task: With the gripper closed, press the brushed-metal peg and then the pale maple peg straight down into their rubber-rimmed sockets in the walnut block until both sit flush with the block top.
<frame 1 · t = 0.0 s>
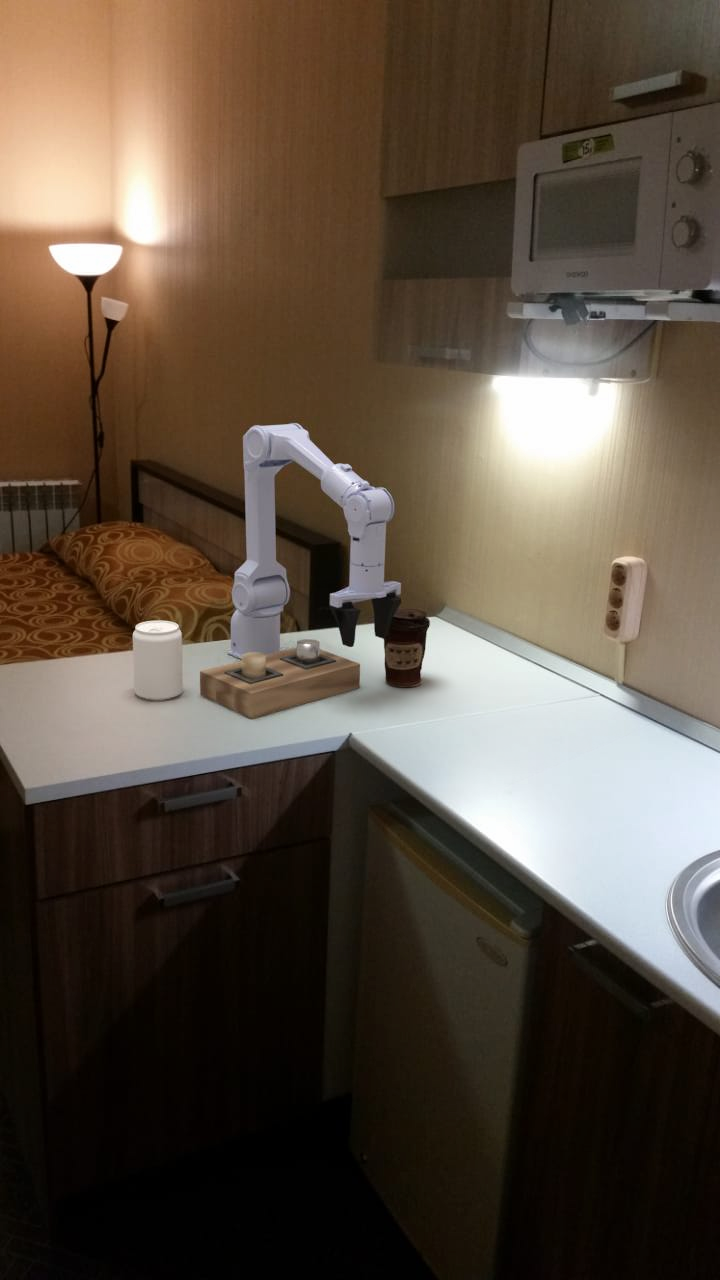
hand: (364, 641, 183), 10 cm above the worktop, fingers open, 7 cm apart
coffee cup: (403, 683, 194), on the worktop
beverage can: (158, 695, 185), on the worktop
socket block: (281, 691, 188), on the worktop
maple peg: (253, 668, 182), point 5 cm above the worktop, slide at 3.0 cm
metal peg: (308, 654, 190), point 5 cm above the worktop, slide at 3.0 cm
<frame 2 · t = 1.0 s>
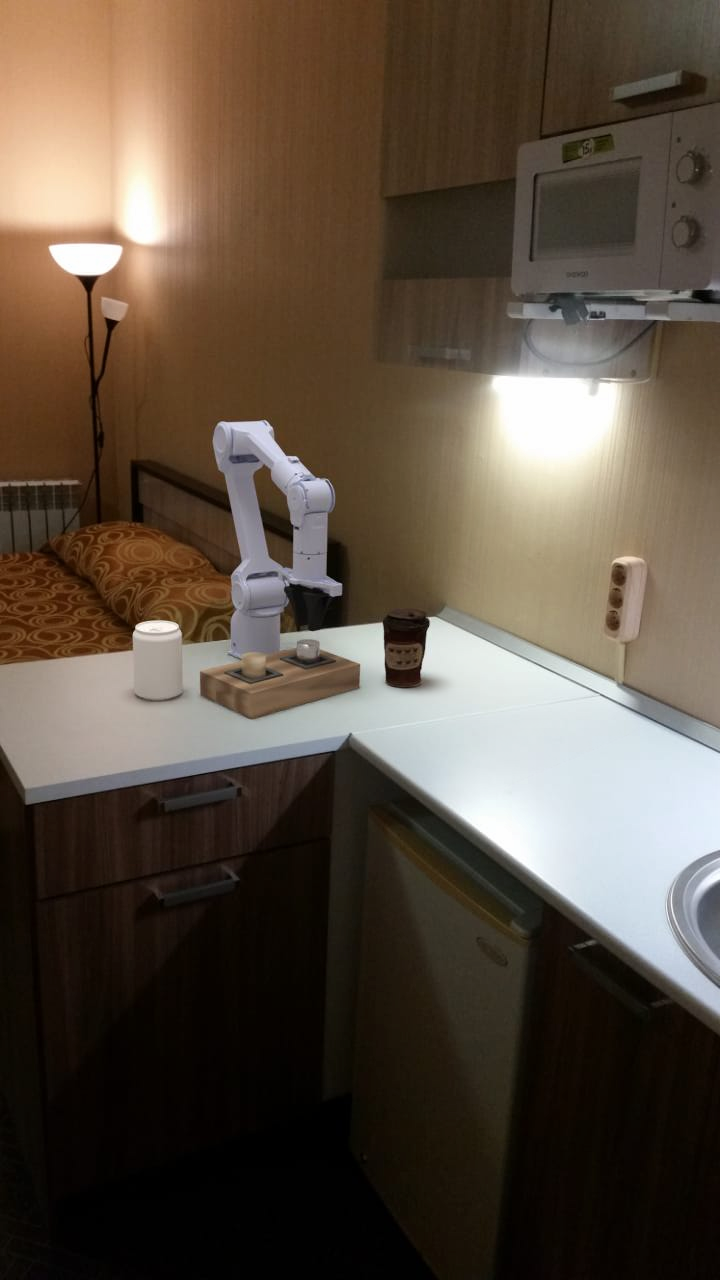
hand: (308, 627, 189), 10 cm above the worktop, fingers open, 3 cm apart
nothing on the worktop moved.
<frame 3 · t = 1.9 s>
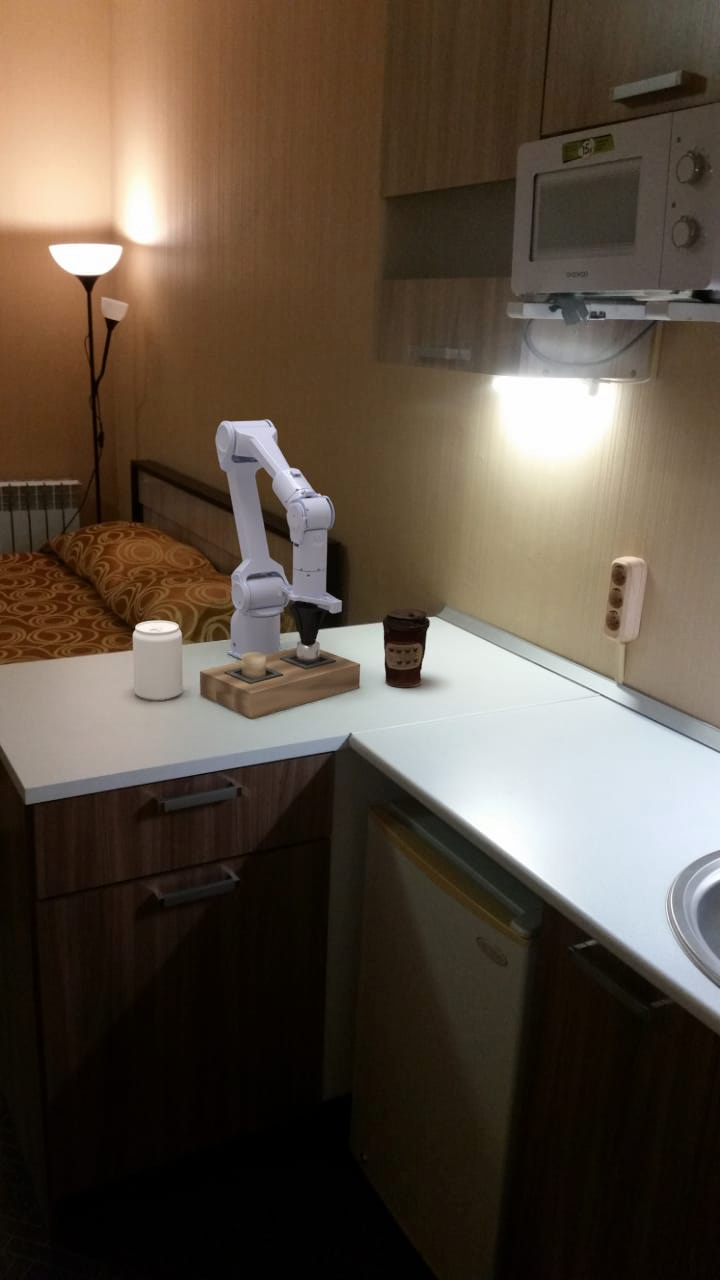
hand: (308, 643, 190), 7 cm above the worktop, fingers closed, pressing on metal peg
metal peg: (308, 655, 190), point 5 cm above the worktop, slide at 2.8 cm, touching gripper
everything else where it was.
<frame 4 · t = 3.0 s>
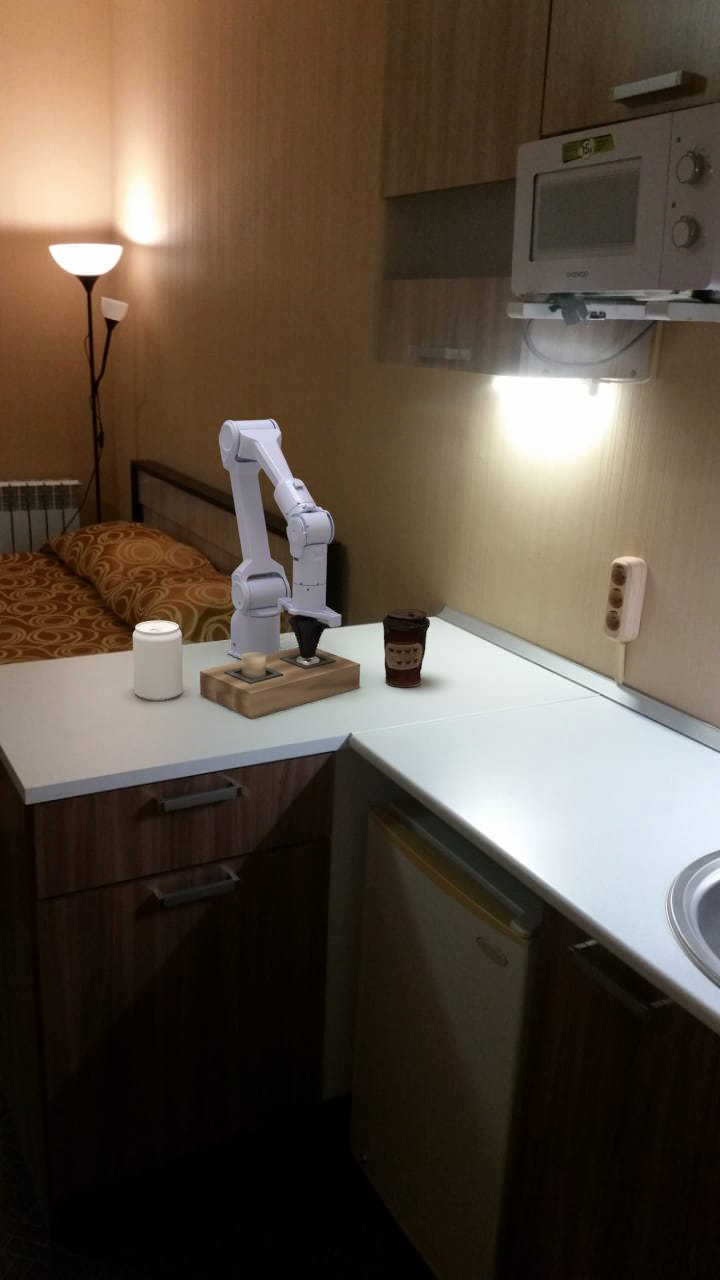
hand: (307, 657, 190), 5 cm above the worktop, fingers closed
metal peg: (307, 671, 191), point 2 cm above the worktop, slide at 0.0 cm
everything else where it was.
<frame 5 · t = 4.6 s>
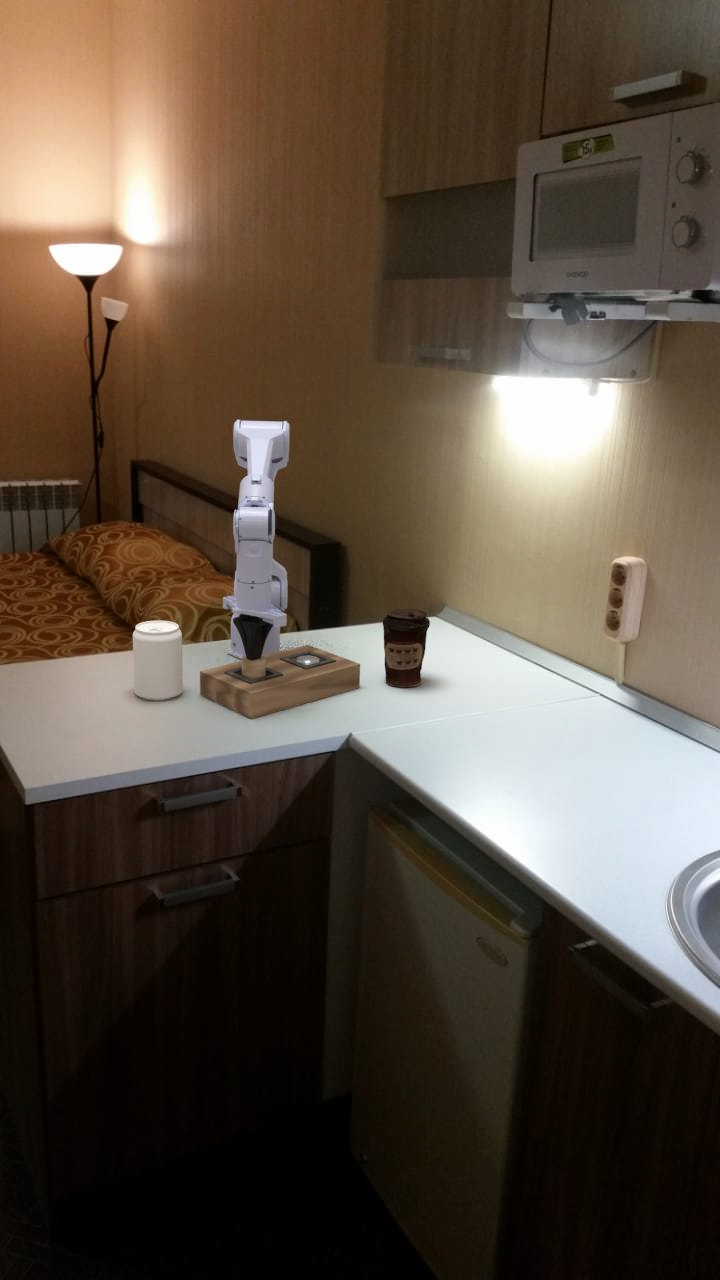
hand: (253, 658, 182), 7 cm above the worktop, fingers closed, pressing on maple peg
maple peg: (253, 671, 182), point 5 cm above the worktop, slide at 2.5 cm, touching gripper
everything else where it was.
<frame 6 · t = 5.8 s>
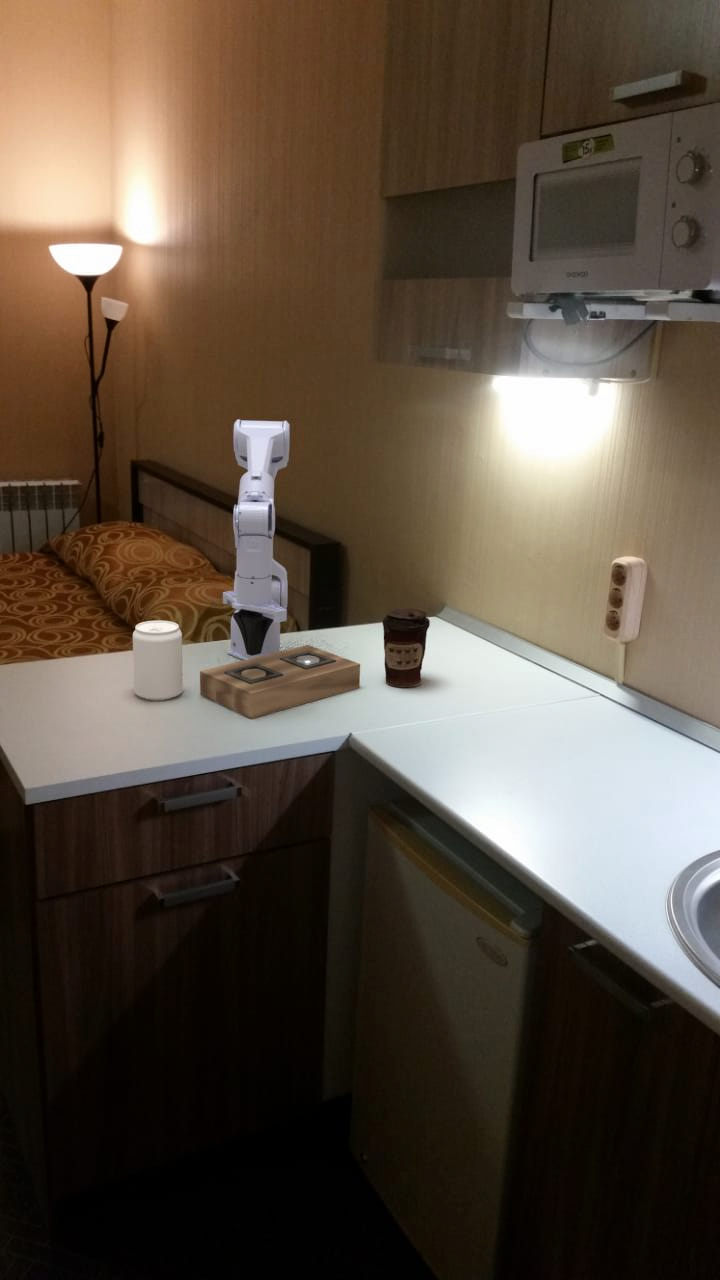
hand: (253, 653, 182), 8 cm above the worktop, fingers closed
maple peg: (253, 685, 183), point 2 cm above the worktop, slide at 0.0 cm
everything else where it was.
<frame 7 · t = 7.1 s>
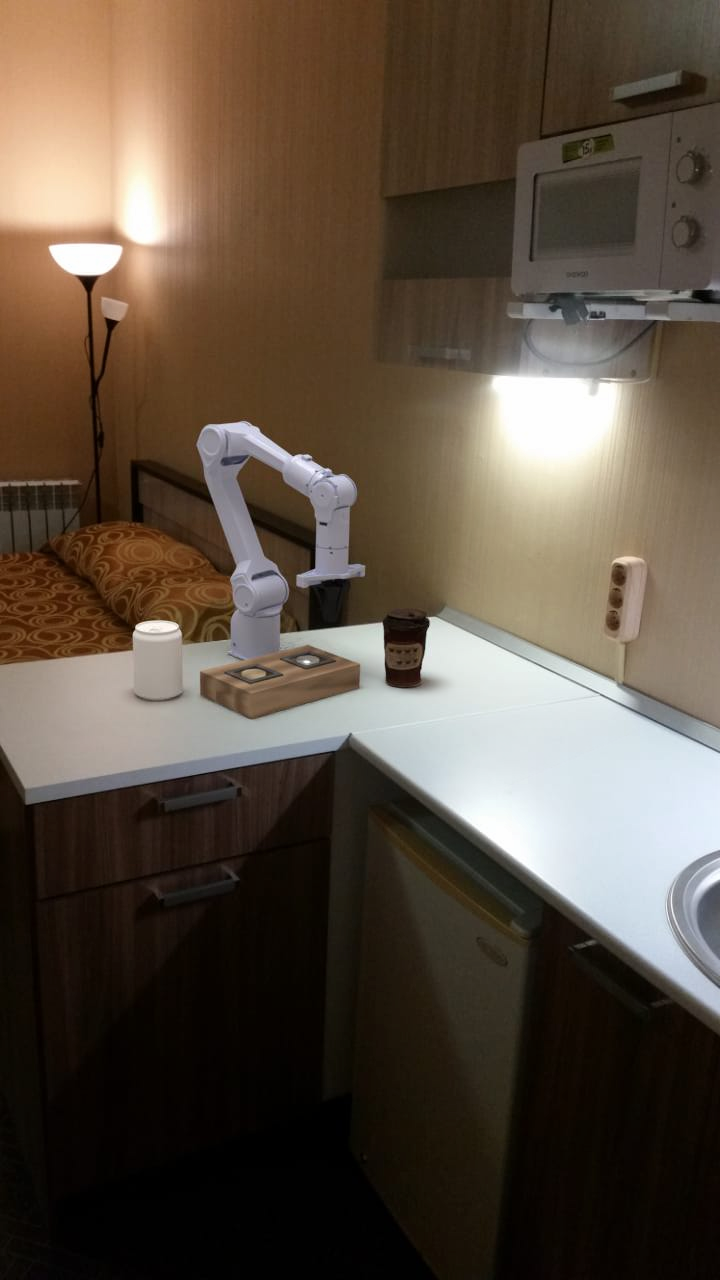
hand: (330, 620, 193), 10 cm above the worktop, fingers closed
nothing on the worktop moved.
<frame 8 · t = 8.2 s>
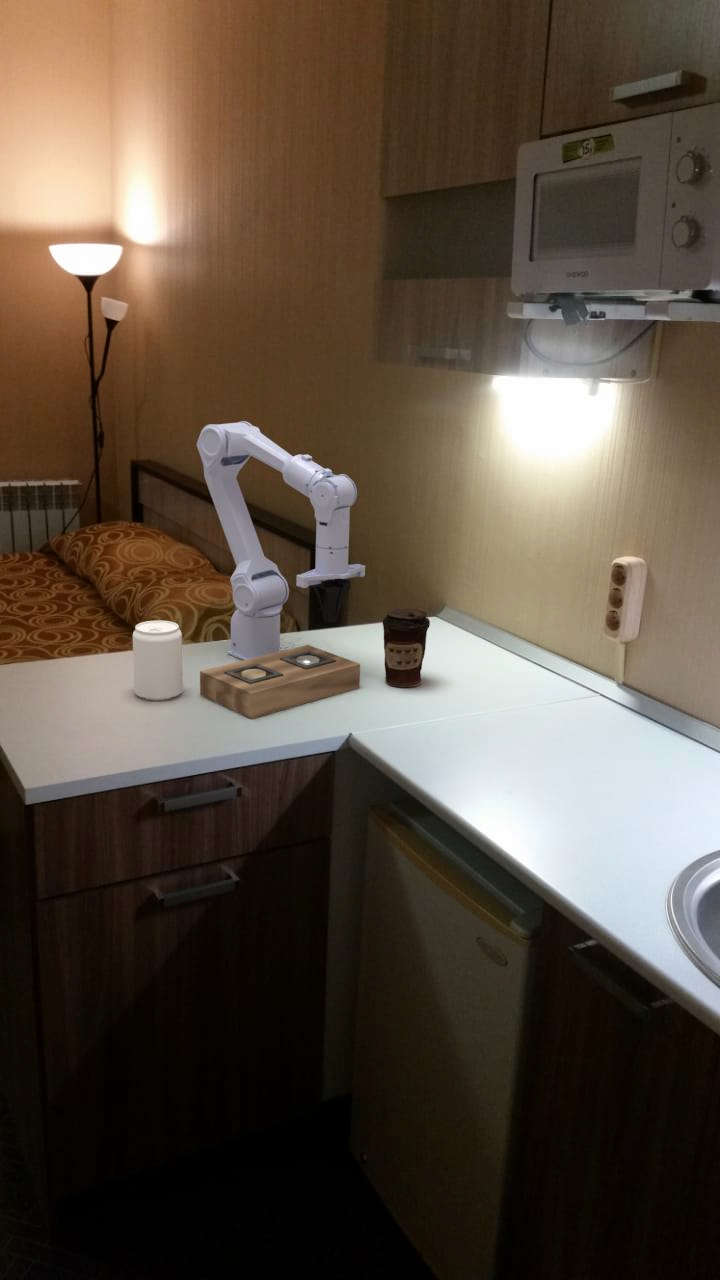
hand: (330, 620, 193), 10 cm above the worktop, fingers closed
nothing on the worktop moved.
at the end: metal peg slide at 0.0 cm; maple peg slide at 0.0 cm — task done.
